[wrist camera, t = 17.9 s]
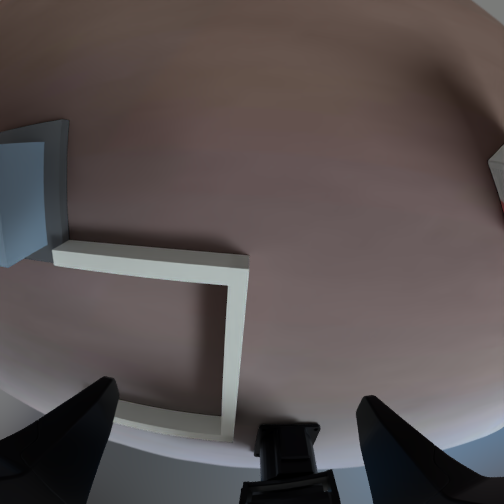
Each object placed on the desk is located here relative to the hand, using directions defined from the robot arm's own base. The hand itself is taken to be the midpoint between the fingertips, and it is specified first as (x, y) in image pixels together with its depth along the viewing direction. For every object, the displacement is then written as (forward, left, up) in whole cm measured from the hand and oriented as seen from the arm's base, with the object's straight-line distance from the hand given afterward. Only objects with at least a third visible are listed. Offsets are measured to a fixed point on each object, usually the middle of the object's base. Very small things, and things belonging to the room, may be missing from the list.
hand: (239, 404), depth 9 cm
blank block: (+5, +18, -11) cm, 22 cm away
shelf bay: (-8, +6, -12) cm, 16 cm away
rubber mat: (+5, +18, -12) cm, 22 cm away
